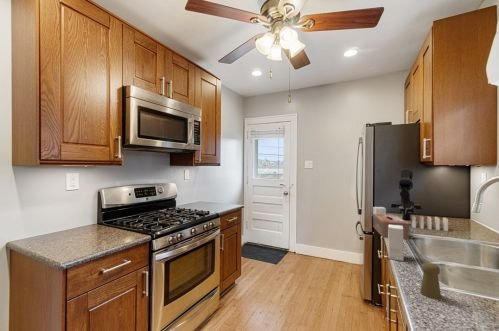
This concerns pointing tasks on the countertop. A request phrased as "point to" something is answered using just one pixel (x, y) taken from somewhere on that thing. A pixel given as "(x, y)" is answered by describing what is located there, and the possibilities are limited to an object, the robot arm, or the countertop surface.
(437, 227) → the domino
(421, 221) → the domino
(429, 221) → the domino
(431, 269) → the cork
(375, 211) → the small box
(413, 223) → the white angular block
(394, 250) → the skincare box
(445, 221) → the domino
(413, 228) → the rubber mat
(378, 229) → the tissue box cover
